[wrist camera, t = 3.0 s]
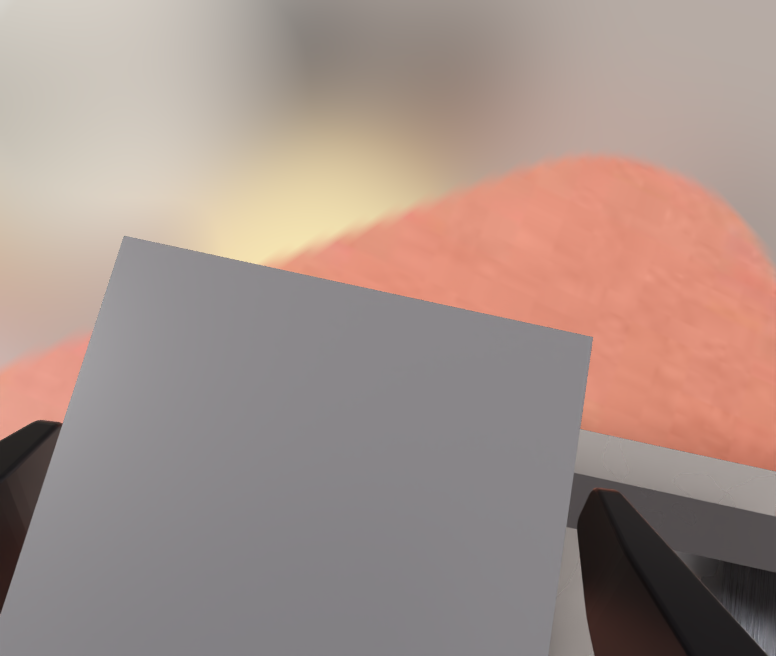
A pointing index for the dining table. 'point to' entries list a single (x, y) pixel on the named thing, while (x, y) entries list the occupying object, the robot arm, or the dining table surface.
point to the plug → (299, 473)
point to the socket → (679, 529)
